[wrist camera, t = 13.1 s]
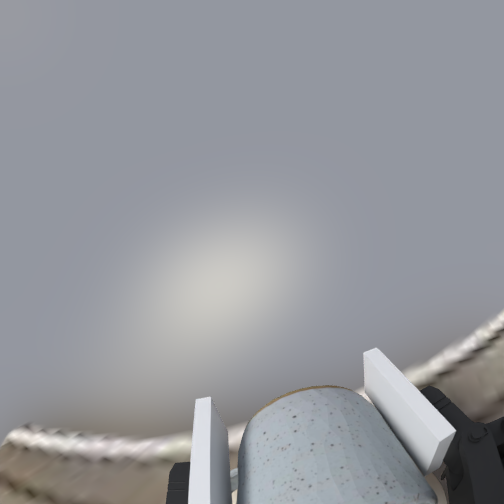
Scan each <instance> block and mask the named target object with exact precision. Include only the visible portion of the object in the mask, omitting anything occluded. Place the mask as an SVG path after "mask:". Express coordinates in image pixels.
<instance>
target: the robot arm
mask: <svg viewBox="0 0 504 504" xmlns="http://www.w3.org/2000/svg"><path fill="white" fill-rule="evenodd" d="M363 355H364V380H365V381H364V382H365V393H366V394H367V396H368V397H369V398H370V400H371V401H372V403H373V404H374V405H375V407H376V408H377V410H378V411H379V413H380V414H381V415H382V417H383V418H384V420H385V421H386V422H387V424H388V425H389V427H390V428H391V430H392V431H393V432H394V434H395V435H396V437H397V438H398V439H399V441H400V442H401V444H402V445H403V447H404V448H405V450H406V451H407V452H408V454H409V455H410V457H411V458H412V460H413V461H414V462H415V464H416V465H417V467H418V468H419V470H420V471H421V473H422V474H423V475H424V477H425V476H427V475H429V474H430V473H432V472H433V471H435V470H437V469H438V468H440V466H441V464H442V462H443V461H444V463H445V464H446V465H447V466H446V468H445V470H444V472H443V474H442V476H441V480H443V479H444V478H445V476H446V479H447V486H448V494H449V503H450V504H504V417H502V418H499V419H497V420H495V421H493V422H491V423H488V424H484V423H480V422H477V423H474V422H473V421H471V420H470V419H469V418H468V417H467V416H466V415H465V414H464V413H463V412H462V411H461V410H460V409H459V408H458V407H457V406H456V405H455V404H454V403H452V402H451V400H450V399H448V398H446V396H445V395H444V394H443V393H442V392H441V391H440V390H439V389H437V388H434V387H432V386H428V387H426V388H424V389H422V390H421V391H419V390H418V389H417V388H416V387H415V386H414V385H413V384H412V383H411V382H410V381H409V380H408V379H407V378H406V377H405V376H404V375H403V374H402V373H401V372H400V371H399V370H398V369H397V368H396V367H395V366H394V364H393V363H392V362H391V361H390V360H388V359H387V357H385V355H384V354H383V353H382V352H381V351H380V350H379V349H377V348H374V349H371V350H369V351H366V352H364V353H363ZM166 504H233V503H232V490H231V476H230V461H229V445H228V431H227V429H226V427H225V425H224V423H223V421H222V419H221V417H220V415H219V413H218V410H217V408H216V406H215V404H214V402H213V400H212V398H211V397H206V398H201V399H196V405H195V414H194V425H193V437H192V450H191V462H182V463H175V464H174V466H173V468H172V469H171V471H170V474H169V484H168V492H167V498H166Z"/></svg>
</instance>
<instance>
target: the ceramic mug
mask: <svg viewBox="0 0 504 504" xmlns="http://www.w3.org/2000/svg"><path fill="white" fill-rule="evenodd" d="M230 476H231V490H232V493H233V492H234V491H235V490H237V489H238V490H237V503H236V504H438V498H437V495H436V493H435V492H434V490H433V489H432V488H431V486H430V485H429V484H428V482H427V481H426V479H425V478H424V476H423V475H422V474H421V472H420V471H419V470H418V468H417V467H416V465H415V463H414V462H413V460H412V459H411V458H410V456H409V455H408V453H407V452H406V450H405V449H404V448H403V446H402V445H401V443H400V442H399V441H398V439H397V438H396V437H395V435H394V434H393V432H392V431H391V430H390V428H389V427H388V425H387V423H386V422H385V420H384V419H383V417H382V416H381V415H380V413H379V412H378V411H377V410H376V408H375V407H374V406H373V405H372V404H371V403H369V402H368V401H367V400H366V399H365V398H363V397H362V396H361V395H359V394H357V393H356V392H354V391H352V390H350V389H347V388H344V387H339V386H329V385H326V386H312V387H307V388H302V389H299V390H295V391H292V392H289V393H286V394H285V395H282V396H280V397H278V398H276V399H274V400H272V401H271V402H269V403H268V404H266V405H265V406H264V407H263V408H261V409H260V410H259V411H258V412H257V413H256V414H255V415H254V416H253V417H252V418H251V420H250V421H249V422H248V424H247V426H246V428H245V431H244V433H243V437H242V440H241V444H240V448H239V452H238V468H235V469H233V470H231V471H230Z"/></svg>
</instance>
